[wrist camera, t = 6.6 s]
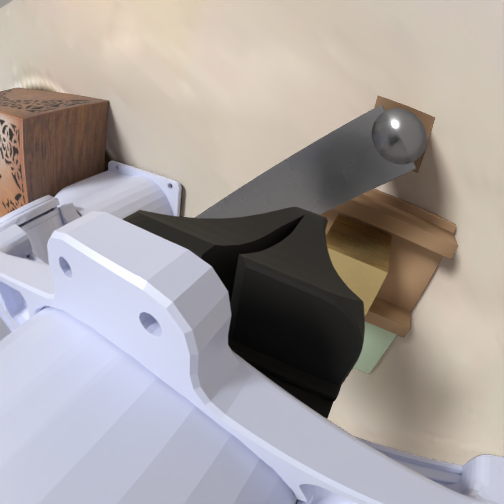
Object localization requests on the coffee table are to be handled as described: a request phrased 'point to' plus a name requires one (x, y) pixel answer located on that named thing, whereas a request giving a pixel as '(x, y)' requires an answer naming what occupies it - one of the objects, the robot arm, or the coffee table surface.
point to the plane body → (401, 243)
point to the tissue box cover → (47, 143)
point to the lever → (333, 167)
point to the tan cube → (359, 257)
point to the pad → (373, 347)
